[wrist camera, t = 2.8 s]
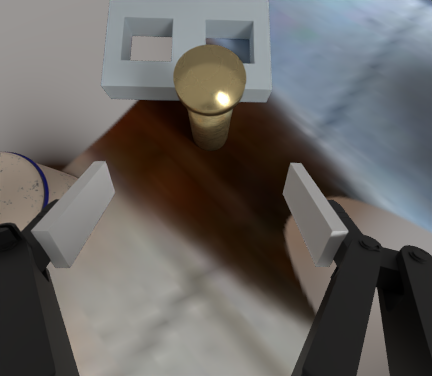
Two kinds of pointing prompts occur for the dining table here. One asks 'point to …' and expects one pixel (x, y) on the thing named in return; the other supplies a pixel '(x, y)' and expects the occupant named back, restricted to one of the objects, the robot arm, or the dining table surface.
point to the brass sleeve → (209, 91)
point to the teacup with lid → (28, 188)
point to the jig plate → (182, 43)
